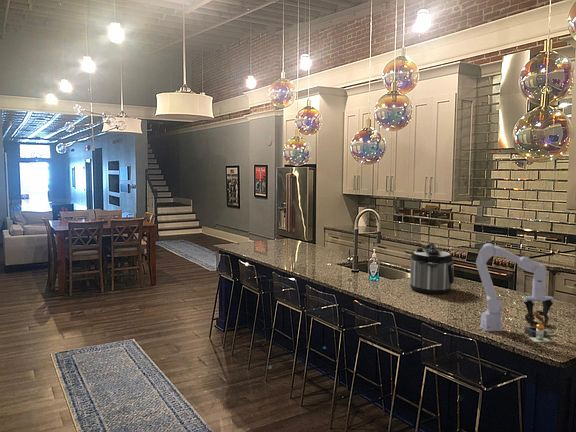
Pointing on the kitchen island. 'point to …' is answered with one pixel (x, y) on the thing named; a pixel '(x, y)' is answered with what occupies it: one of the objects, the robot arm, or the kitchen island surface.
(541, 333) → the metal cylinder
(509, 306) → the kitchen island surface
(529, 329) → the grey square with handle
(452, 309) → the kitchen island surface
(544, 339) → the mat
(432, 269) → the pressure cooker
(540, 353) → the kitchen island surface
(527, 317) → the brown looped band
